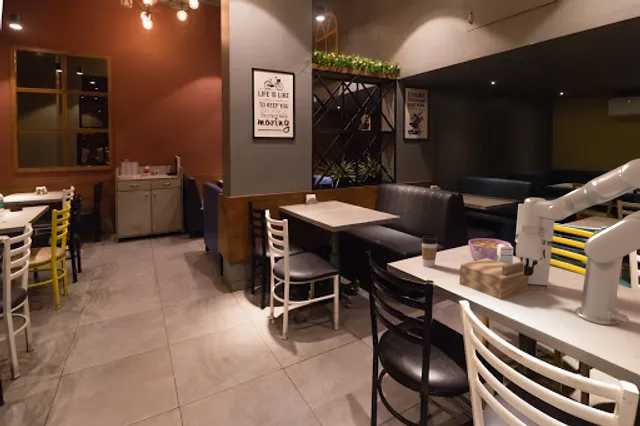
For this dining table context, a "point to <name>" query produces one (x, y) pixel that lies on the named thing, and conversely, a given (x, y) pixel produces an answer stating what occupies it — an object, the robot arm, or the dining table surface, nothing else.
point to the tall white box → (542, 270)
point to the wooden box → (493, 283)
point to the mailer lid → (495, 268)
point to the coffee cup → (429, 250)
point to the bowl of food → (484, 248)
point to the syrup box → (505, 253)
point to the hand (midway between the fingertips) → (528, 275)
